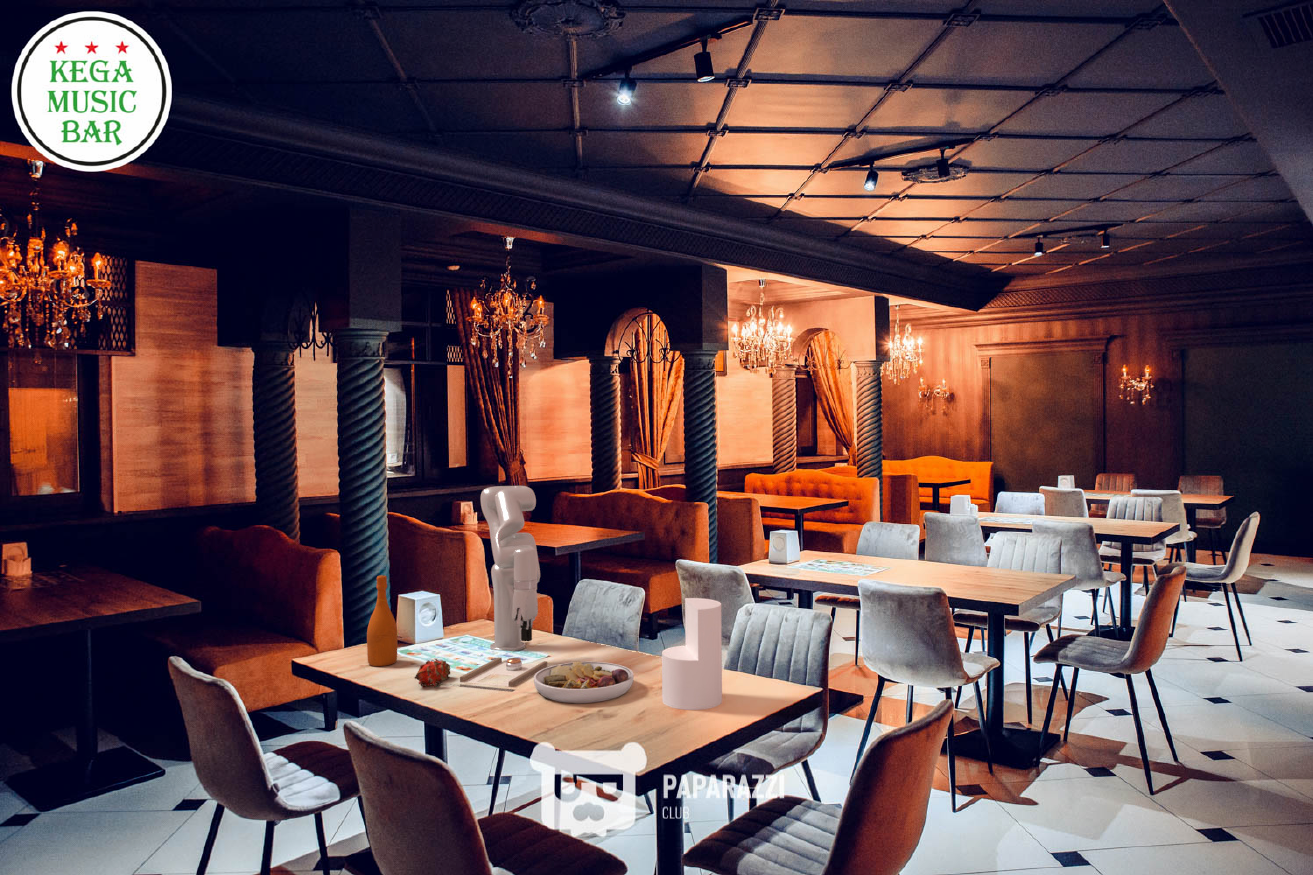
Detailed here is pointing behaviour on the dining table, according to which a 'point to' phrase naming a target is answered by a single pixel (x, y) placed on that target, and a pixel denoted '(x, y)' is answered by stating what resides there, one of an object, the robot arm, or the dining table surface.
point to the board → (500, 669)
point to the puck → (513, 664)
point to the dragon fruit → (433, 673)
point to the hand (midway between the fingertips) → (526, 640)
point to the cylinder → (695, 660)
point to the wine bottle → (382, 630)
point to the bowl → (583, 681)
